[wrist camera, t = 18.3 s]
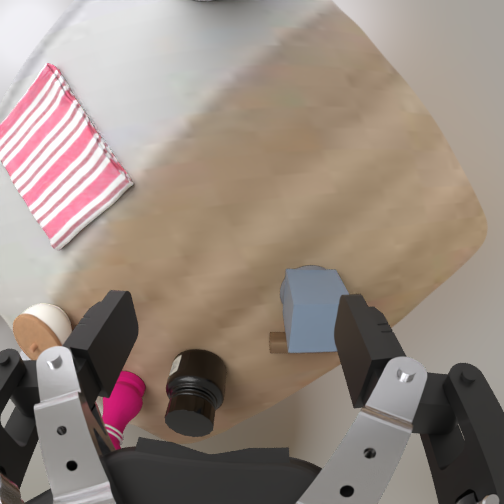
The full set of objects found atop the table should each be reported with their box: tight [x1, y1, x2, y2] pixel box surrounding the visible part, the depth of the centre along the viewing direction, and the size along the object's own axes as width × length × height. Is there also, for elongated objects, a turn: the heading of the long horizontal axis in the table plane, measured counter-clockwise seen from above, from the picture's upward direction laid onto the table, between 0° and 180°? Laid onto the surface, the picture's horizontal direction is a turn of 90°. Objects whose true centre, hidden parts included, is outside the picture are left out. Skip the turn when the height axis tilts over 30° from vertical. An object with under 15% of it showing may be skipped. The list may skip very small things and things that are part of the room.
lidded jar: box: [13, 303, 72, 360], centre depth 39 cm, size 11×11×9 cm
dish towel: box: [0, 63, 133, 250], centre depth 32 cm, size 17×23×4 cm
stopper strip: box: [269, 332, 337, 353], centre depth 43 cm, size 2×10×2 cm, turn 89°
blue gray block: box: [283, 269, 349, 353], centre depth 37 cm, size 7×7×9 cm
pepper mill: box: [102, 371, 145, 450], centre depth 39 cm, size 7×7×20 cm
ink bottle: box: [165, 349, 227, 437], centre depth 41 cm, size 10×9×12 cm
